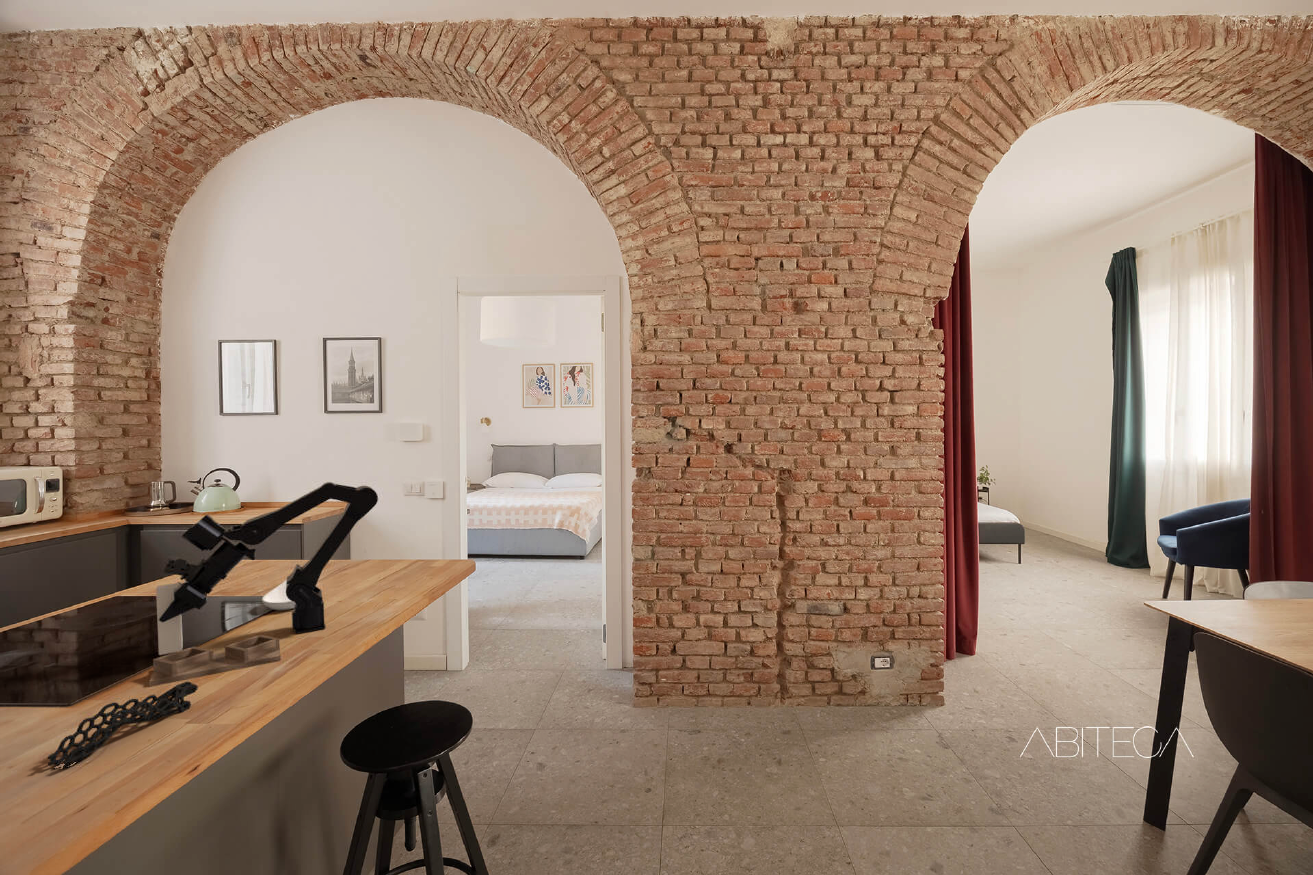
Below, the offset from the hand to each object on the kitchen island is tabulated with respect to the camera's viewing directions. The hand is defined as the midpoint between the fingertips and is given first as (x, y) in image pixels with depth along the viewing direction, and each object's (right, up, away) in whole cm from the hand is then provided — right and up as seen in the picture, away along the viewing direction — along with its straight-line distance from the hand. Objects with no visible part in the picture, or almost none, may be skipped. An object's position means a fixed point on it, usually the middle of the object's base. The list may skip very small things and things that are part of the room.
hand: (161, 619), depth 136 cm
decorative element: (+24, -9, -35) cm, 43 cm away
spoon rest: (+6, -7, +39) cm, 40 cm away
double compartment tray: (+18, -8, -7) cm, 21 cm away
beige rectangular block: (+1, -8, +1) cm, 8 cm away
